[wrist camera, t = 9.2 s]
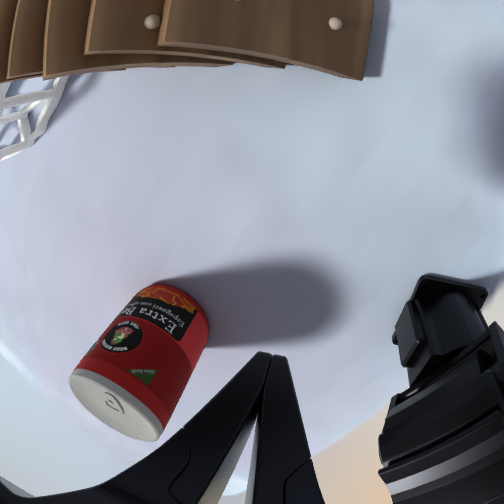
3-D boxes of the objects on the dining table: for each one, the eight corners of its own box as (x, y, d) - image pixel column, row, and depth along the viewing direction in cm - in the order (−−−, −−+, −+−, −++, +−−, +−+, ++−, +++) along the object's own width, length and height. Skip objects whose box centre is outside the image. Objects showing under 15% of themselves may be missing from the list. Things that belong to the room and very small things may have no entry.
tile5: (138, 3, 13) (3, -8, 5) (128, 69, 16) (-11, 84, 8) (119, 8, 14) (-8, 3, 6) (110, 71, 16) (-20, 88, 8)
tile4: (190, -6, 12) (26, -21, 5) (178, 67, 15) (9, 76, 8) (171, 0, 13) (19, -8, 6) (160, 67, 16) (6, 79, 9)
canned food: (206, 286, 23) (138, 398, 14) (216, 354, 27) (172, 453, 18) (127, 275, 25) (49, 360, 16) (147, 339, 29) (93, 421, 20)
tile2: (301, -11, 11) (112, -57, 5) (289, 69, 14) (89, 50, 8) (277, -7, 12) (101, -41, 6) (265, 67, 15) (83, 55, 9)
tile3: (239, -12, 12) (56, -28, 6) (236, 64, 14) (46, 74, 8) (218, -5, 13) (49, -11, 7) (215, 67, 15) (43, 80, 9)
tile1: (378, 1, 10) (189, -68, 6) (367, 81, 13) (166, 40, 8) (353, 2, 12) (175, -51, 7) (341, 77, 14) (156, 46, 10)
